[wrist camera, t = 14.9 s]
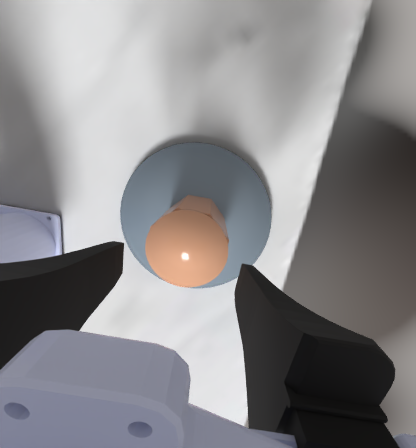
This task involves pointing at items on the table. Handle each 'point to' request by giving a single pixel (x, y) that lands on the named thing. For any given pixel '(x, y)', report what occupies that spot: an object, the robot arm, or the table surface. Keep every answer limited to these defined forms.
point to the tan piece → (188, 243)
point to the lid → (202, 187)
